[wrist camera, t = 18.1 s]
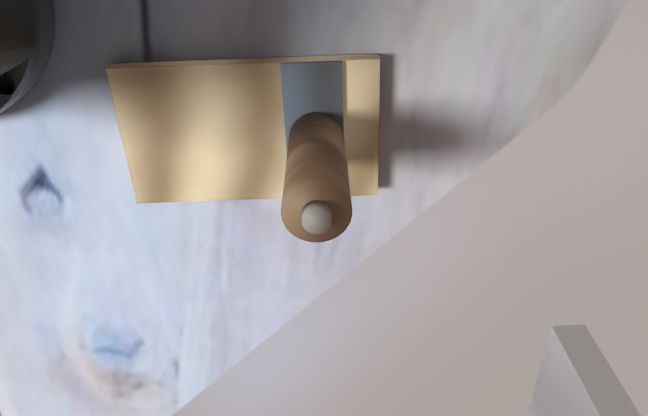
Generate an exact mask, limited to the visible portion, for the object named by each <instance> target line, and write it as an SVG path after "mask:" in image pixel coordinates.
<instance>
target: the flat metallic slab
mask: <svg viewBox="0 0 648 416" xmlns="http://www.w3.org/2000/svg"><path fill="white" fill-rule="evenodd" d="M106 74H107V78H108V82H109V86H110V91H111V95H112V99H113V103H114V108H115V112H116V116H117V120H118V125H119V129H120V133H121V137H122V142H123V146H124V150H125V154H126V159H127V163H128V167H129V171H130V176H131V180H132V184H133V188H134V193H135V197H136V201H137V203H160V202H189V201H217V200H246V199H275V198H282V197H283V187H284V178H285V169H286V159H287V150H288V141H289V132H290V129H291V127H292V125H293V123H294V122H295V121H296V120H297V119H298V118H299V117H301V116H302V115H304V114H307V113H311V112H322V113H326V114H328V115H330V116H332V117H334V118H335V119H336V120H337V121H338V122H339V124H340V125H341V127H342V129H343V133H344V142H345V151H346V160H347V169H348V178H349V187H350V196H361V195H378V158H379V99H380V57H379V54H355V55H328V56H301V57H274V58H247V59H220V60H193V61H166V62H139V63H112V64H111V65H110V66H109V67H107V68H106Z"/></svg>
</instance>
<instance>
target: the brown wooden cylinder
mask: <svg viewBox="0 0 648 416" xmlns="http://www.w3.org/2000/svg"><path fill="white" fill-rule="evenodd" d="M281 216H282V220H283V223H284V225H285V227H286V228H287V229H288V230H289V232H290V233H292V234H293V235H294V236H296V237H297V238H300V239H302V240H305V241H309V242H324V241H329V240H331V239H334V238H336V237H337V236H339V235H340V234H341V233H343V232H344V231H345V230H346V228H347V227H348V225H349V223H350V221H351V217H352V205H351V196H350V187H349V178H348V169H347V160H346V151H345V142H344V133H343V129H342V127H341V125H340V124H339V122H338V121H337V120H336V119H335V118H334V117H332V116H330V115H328V114H326V113H322V112H311V113H307V114H304V115H302V116H301V117H299V118H298V119H297V120H296V121H295V122H294V123H293V125H292V127H291V129H290V132H289V141H288V150H287V159H286V169H285V178H284V187H283V197H282V206H281Z"/></svg>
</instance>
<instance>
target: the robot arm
mask: <svg viewBox="0 0 648 416" xmlns="http://www.w3.org/2000/svg"><path fill="white" fill-rule="evenodd" d="M53 35H54V13H53V4H52V0H0V113H2V112H3V111H5V110H6V109H7V108H9V107H10V106H12V105H13V104H15V103H16V102H17V101H19V100H20V99H21V98H22V97H24V96H25V95H26V94H27V93H28V92H29V91H30V90H31V89H32V87H33V86H34V85H35V84H36V82H37V81H38V80H39V78H40V76H41V75H42V73H43V71H44V69H45V67H46V64H47V62H48V59H49V56H50V52H51V48H52V43H53ZM529 408H530V411H531V413H532V415H533V416H641V415H640V414H639V412H638V410H637V409H636V407H635V405H634V404H633V402H632V400H631V399H630V397H629V396H628V394H627V392H626V391H625V389H624V387H623V386H622V384H621V383H620V381H619V379H618V378H617V376H616V375H615V373H614V371H613V370H612V368H611V366H610V365H609V363H608V362H607V360H606V358H605V357H604V355H603V353H602V352H601V350H600V348H599V347H598V345H597V343H596V342H595V340H594V339H593V337H592V335H591V334H590V332H589V330H588V329H587V327H586V326H585V325H567V326H551V330H550V333H549V337H548V341H547V345H546V348H545V352H544V356H543V359H542V363H541V366H540V370H539V374H538V378H537V381H536V385H535V388H534V392H533V396H532V399H531V403H530V407H529ZM0 416H2V415H1V413H0Z"/></svg>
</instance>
